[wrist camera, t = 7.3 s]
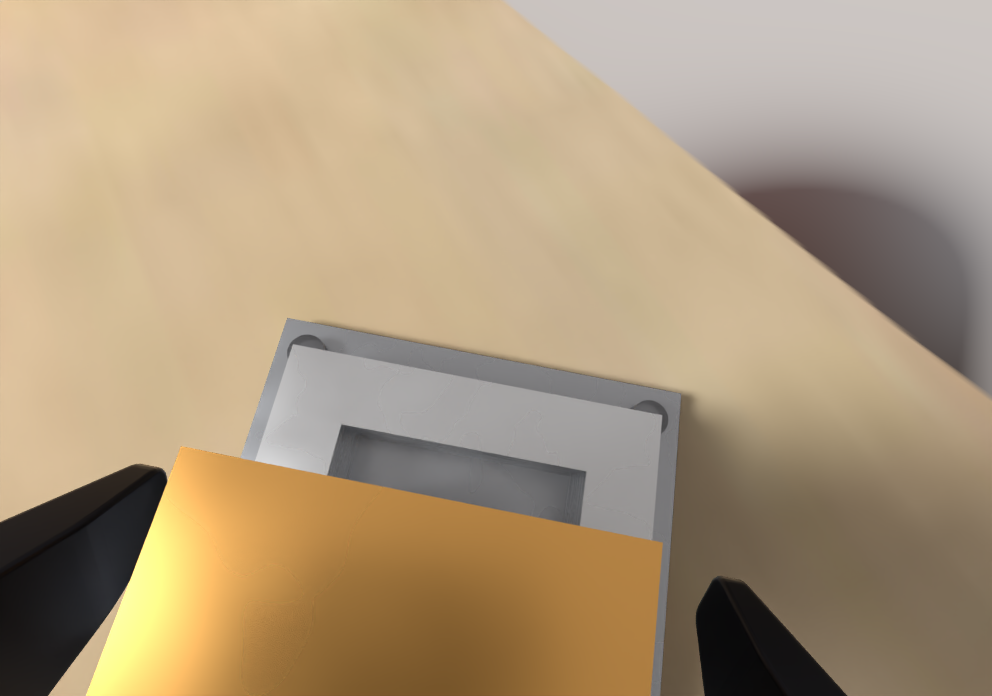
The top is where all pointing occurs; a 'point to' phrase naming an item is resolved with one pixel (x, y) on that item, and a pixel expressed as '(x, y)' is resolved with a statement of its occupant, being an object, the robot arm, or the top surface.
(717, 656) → the robot arm
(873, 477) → the top surface
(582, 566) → the orange and grey post
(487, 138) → the top surface
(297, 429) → the metal post socket
